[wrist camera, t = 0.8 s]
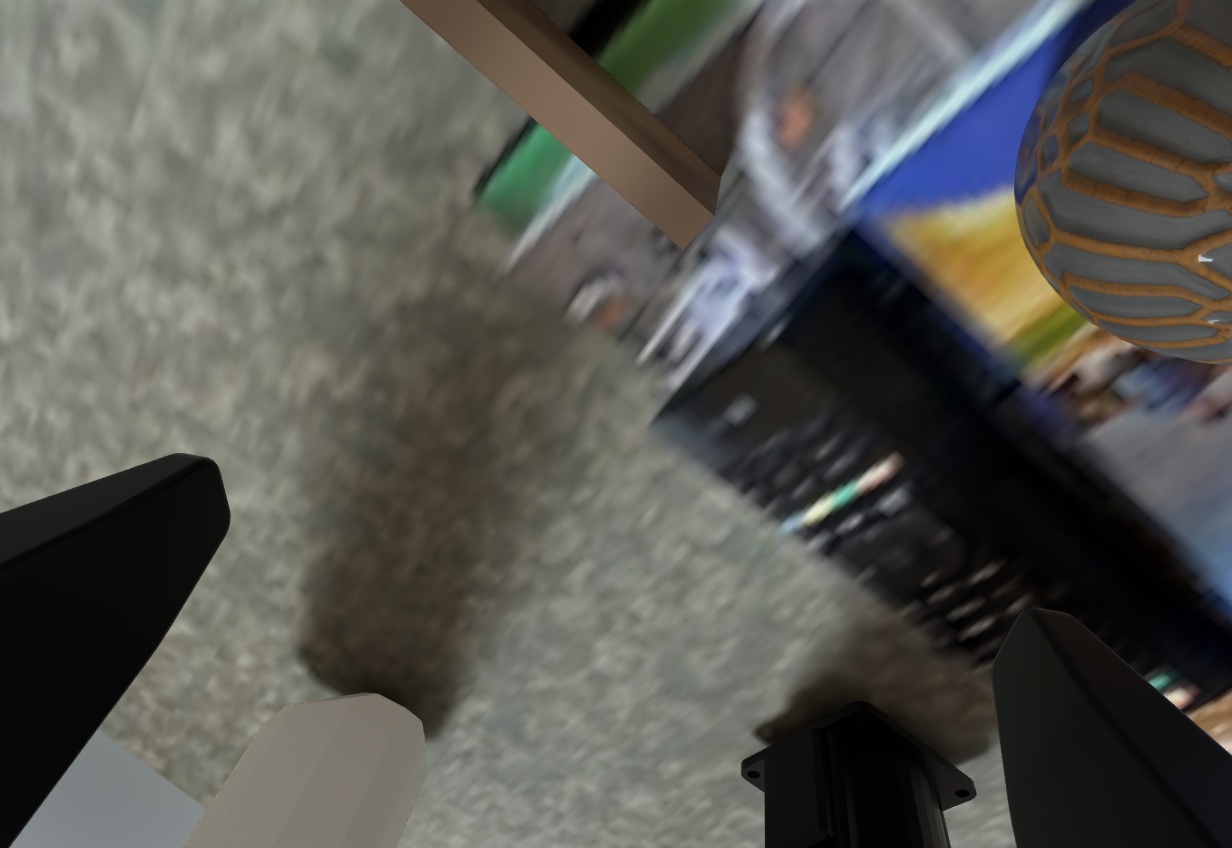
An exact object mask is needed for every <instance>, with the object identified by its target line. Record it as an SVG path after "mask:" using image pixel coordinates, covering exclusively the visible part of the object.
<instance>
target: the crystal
mask: <svg viewBox="0 0 1232 848" xmlns="http://www.w3.org/2000/svg"><path fill="white" fill-rule="evenodd" d="M424 755H425V737H424V731H423V725H422V721H421V720H420V719H419V718H417V717H416V716H415V715H414V714H412V713H411V712H410V711H409V710H408V709H406V708H405V707H403V706H401V705H399V704H397V703H395V702H393V701H391V700H389V699H387V698H385V697H383V696H381V695H379V694H375V693H358V694H351V695H345V696H339V697H332V698H326V699H319V700H313V701H307V702H300V703H294V704H288V705H287V706H286V707H284V708H283V709H282V710H280V711H279V712H278V713H277V714H275V715H274V716H273V717H272V718H270V719H269V720H268V721H267V722H265V723H264V724H263V725H262V727H261V728H260V730H259V731H258V733H257V735H256V736H255V738H254V739H253V741H252V742H251V744H250V745H249V747H248V748H247V750H246V751H245V753H244V754H243V756H242V757H241V759H240V760H239V762H238V763H237V765H236V766H235V768H234V769H233V771H232V772H231V774H230V775H229V777H228V778H227V780H226V781H225V783H224V784H223V786H222V787H221V789H220V790H219V792H218V794H217V795H216V797H215V798H214V800H213V801H212V803H211V804H210V806H209V807H208V809H207V810H206V812H205V814H204V815H203V816H202V818H201V819H200V821H199V822H198V824H197V825H196V827H195V828H194V830H193V831H192V833H191V834H190V836H189V837H188V839H187V840H186V842H185V843H184V845H183V846H182V848H396V847H397V844H398V842H399V839H400V837H401V835H402V832H403V830H404V827H405V825H406V822H407V820H408V818H409V815H410V813H411V810H412V808H413V806H414V803H415V801H416V798H417V796H418V793H419V791H420V789H421V786H422V784H423V781H424Z"/></svg>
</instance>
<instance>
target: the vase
mask: <svg viewBox="0 0 1232 848" xmlns="http://www.w3.org/2000/svg"><path fill="white" fill-rule="evenodd" d="M1014 195H1015V206H1016V213H1017V218H1018V223H1019V227H1020V231H1021V235H1022V238H1023V240H1024V243H1025V246H1026V248H1027V250H1028V252H1029V254H1030V256H1031V257H1032V259H1033V261H1034V262H1035V264H1036V266H1037V267H1038V269H1039V271H1040V272H1041V274H1042V275H1043V276H1044V278H1045V279H1046V280H1047V282H1048V283H1049V284H1050V285H1051V287H1052V288H1053V289H1054V290H1055V291H1056V293H1057V294H1058V295H1059V296H1060V297H1061V298H1062V299H1063V300H1064V301H1065V302H1066V303H1067V304H1069V305H1070V306H1071V307H1072V308H1073V309H1074V310H1075V311H1077V312H1078V313H1079V314H1080V315H1081V316H1082V317H1084V318H1085V319H1087V320H1088V321H1089V322H1091V323H1092V324H1094V325H1096V326H1098V327H1099V328H1101V329H1103V330H1105V331H1106V332H1108V333H1110V334H1112V335H1113V336H1116V337H1118V338H1120V339H1122V340H1124V341H1127V342H1129V343H1132V344H1134V345H1137V346H1139V347H1142V348H1145V349H1148V350H1151V351H1154V352H1158V353H1161V354H1165V355H1168V356H1172V357H1176V358H1181V359H1186V360H1191V361H1196V362H1202V363H1210V364H1220V365H1232V0H1137V1H1135V2H1134V3H1132V4H1130V5H1129V6H1128V7H1126V8H1125V9H1123V10H1122V11H1121V12H1119V13H1118V14H1116V15H1115V16H1114V17H1113V18H1111V19H1110V20H1109V21H1108V22H1106V23H1105V24H1104V25H1103V26H1101V27H1100V28H1099V29H1098V30H1096V31H1095V32H1094V33H1093V34H1092V35H1091V36H1090V37H1089V38H1088V39H1086V40H1085V41H1084V42H1083V43H1082V44H1081V45H1080V46H1079V47H1078V48H1077V49H1076V50H1075V51H1074V52H1073V54H1072V55H1071V56H1070V57H1069V58H1068V59H1067V60H1066V62H1065V63H1064V64H1063V65H1062V66H1061V68H1060V69H1059V70H1058V72H1057V73H1056V74H1055V75H1054V77H1053V78H1052V80H1051V81H1050V83H1049V84H1048V86H1047V87H1046V88H1045V90H1044V92H1043V94H1042V95H1041V97H1040V99H1039V100H1038V102H1037V104H1036V106H1035V108H1034V110H1033V112H1032V114H1031V116H1030V119H1029V121H1028V123H1027V126H1026V129H1025V131H1024V134H1023V137H1022V141H1021V144H1020V148H1019V153H1018V158H1017V164H1016V171H1015V184H1014Z"/></svg>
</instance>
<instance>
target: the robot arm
mask: <svg viewBox="0 0 1232 848" xmlns="http://www.w3.org/2000/svg"><path fill="white" fill-rule="evenodd" d="M230 517H231V514H230V509H229V505H228V501H227V497H226V493H225V489H224V485H223V481H222V477H221V473H220V470H219V467H218V465H217V464H216V463H215V462H214V460H212V459H210V458H207V457H202V456H196V455H191V454H185V453H175V454H171V455H168V456H165V457H162V458H159V459H156V460H153V461H151V462H148V463H145V464H142V465H139V466H136V467H133V468H130V469H127V470H124V471H122V472H119V473H116V474H113V475H110V476H107V477H104V478H101V479H98V480H95V481H92V482H90V483H87V484H84V485H81V486H78V487H75V488H72V489H69V490H66V491H63V492H61V493H58V494H55V495H52V496H49V497H46V498H43V499H40V500H37V501H34V502H32V503H29V504H26V505H23V506H20V507H17V508H14V509H11V510H8V511H5V512H3V513H0V848H9V847H10V846H11V845H12V844H13V842H14V841H15V839H16V838H17V837H18V835H19V834H20V833H21V831H22V830H23V829H24V827H25V826H26V825H27V823H28V822H29V821H30V819H31V818H32V817H33V815H34V814H35V813H36V811H37V810H38V808H39V807H40V806H41V804H42V803H43V802H44V800H45V799H46V798H47V796H48V795H49V794H50V792H51V791H52V790H53V788H54V787H55V786H56V784H57V783H58V781H59V780H60V779H61V778H62V776H63V775H64V774H65V772H66V771H67V770H68V768H69V767H70V766H71V764H72V763H73V762H74V760H75V759H76V757H77V756H78V755H79V753H80V752H81V750H82V749H83V748H84V747H85V745H86V744H87V743H88V741H89V740H90V739H91V737H92V736H93V735H94V733H95V732H96V730H97V729H98V728H99V727H100V725H101V724H102V722H103V721H104V720H105V718H106V717H107V716H108V714H109V713H110V712H111V710H112V709H113V708H114V706H115V705H116V704H117V702H118V701H119V700H120V698H121V697H122V696H123V694H124V693H125V692H126V690H127V689H128V688H129V686H130V685H131V683H132V682H133V681H134V679H135V678H136V677H137V675H138V674H139V673H140V671H141V670H142V669H143V667H144V666H145V665H146V663H147V662H148V660H149V659H150V658H151V656H152V655H153V653H154V652H155V650H156V649H157V648H158V646H159V645H160V643H161V641H162V640H163V638H164V637H165V635H166V634H167V632H168V631H169V629H170V627H171V626H172V624H173V623H174V621H175V619H176V618H177V616H178V614H179V613H180V611H181V609H182V608H183V606H184V604H185V603H186V601H187V599H188V598H189V596H190V594H191V593H192V591H193V589H194V588H195V586H196V584H197V583H198V581H199V579H200V578H201V576H202V574H203V573H204V571H205V569H206V568H207V566H208V564H209V563H210V561H211V559H212V558H213V556H214V554H215V553H216V551H217V549H218V548H219V546H220V544H221V543H222V541H223V539H224V538H225V536H226V534H227V531H228V529H229V525H230ZM992 686H993V693H994V701H995V708H996V716H997V723H998V730H999V738H1000V745H1001V753H1002V760H1003V768H1004V775H1005V783H1006V790H1007V798H1008V804H1009V810H1010V816H1011V823H1012V827H1013V832H1014V836H1015V841H1016V845H1017V848H1232V755H1231V754H1230V753H1229V752H1228V751H1226V750H1225V749H1224V748H1223V747H1222V746H1221V745H1220V744H1218V743H1217V742H1216V741H1215V740H1214V739H1213V738H1212V737H1210V736H1209V735H1208V734H1207V733H1206V732H1205V731H1204V730H1202V729H1201V728H1200V727H1199V726H1198V725H1197V724H1196V723H1194V722H1193V721H1192V720H1191V719H1190V718H1189V717H1188V716H1186V715H1185V714H1184V713H1183V712H1182V711H1181V710H1180V709H1178V708H1177V707H1176V706H1175V705H1174V704H1173V703H1172V702H1171V701H1169V700H1168V699H1167V698H1166V697H1165V696H1164V695H1163V694H1161V693H1160V692H1159V691H1158V690H1157V689H1156V688H1155V687H1153V686H1152V685H1151V684H1150V683H1149V682H1148V681H1147V680H1145V679H1144V678H1143V677H1142V676H1141V675H1140V674H1139V673H1137V672H1136V671H1135V670H1134V669H1133V668H1132V667H1131V666H1129V665H1128V664H1127V663H1126V662H1125V661H1124V660H1123V659H1121V658H1120V657H1119V656H1118V655H1117V654H1116V653H1115V652H1114V651H1112V650H1111V649H1110V648H1109V647H1108V646H1107V645H1106V644H1104V643H1103V642H1102V641H1101V640H1100V639H1099V638H1098V637H1096V636H1095V635H1094V634H1093V633H1092V632H1091V631H1090V630H1088V629H1087V628H1086V627H1085V626H1084V625H1083V624H1082V623H1080V622H1079V621H1078V620H1077V619H1076V618H1074V617H1073V616H1071V615H1070V614H1067V613H1064V612H1059V611H1054V610H1048V609H1043V608H1037V607H1029V608H1026V609H1024V610H1023V611H1022V612H1021V613H1020V614H1019V615H1018V617H1017V619H1016V620H1015V622H1014V624H1013V626H1012V628H1011V629H1010V631H1009V633H1008V635H1007V637H1006V639H1005V640H1004V642H1003V644H1002V646H1001V648H1000V649H999V651H998V653H997V655H996V657H995V659H994V663H993V667H992ZM741 775H742V777H743V778H744V779H745V780H747V781H748V782H750V783H751V784H753V785H754V786H756V787H757V788H759V789H760V790H762V791H763V792H765V848H951V845H950V840H949V836H948V831H947V827H946V822H945V818H944V813H943V811H944V810H947V809H949V808H952V807H954V806H957V805H959V804H962V803H964V802H967V801H970V800H972V799H973V798H975V796H976V795H977V794H976V789H975V785H974V782H973V781H972V779H971V778H969V777H968V776H967V775H965V774H964V773H963V772H961V771H960V770H959V769H957V768H956V767H955V766H953V765H952V764H951V763H949V762H948V761H947V760H945V759H944V758H943V757H941V756H940V755H939V754H937V753H936V752H935V751H933V750H932V749H931V748H929V747H928V746H927V745H925V744H924V743H923V742H921V741H920V740H919V739H917V738H916V737H915V736H913V735H912V734H911V733H909V732H908V731H907V730H905V729H904V728H903V727H901V726H900V725H899V724H897V723H896V722H895V721H893V720H892V719H891V718H889V717H888V716H887V715H885V714H884V713H883V712H881V711H880V710H879V709H877V708H876V707H875V706H873V705H872V704H870V703H868V702H864V701H857V702H854V703H851V704H849V705H847V706H845V707H843V708H841V709H839V710H838V711H836V712H834V713H832V714H830V715H828V716H826V717H824V718H822V719H820V720H819V721H817V722H815V723H813V724H811V725H809V726H807V727H805V728H803V729H801V730H800V731H798V732H796V733H794V734H792V735H790V736H788V737H786V738H784V739H782V740H780V741H779V742H777V743H775V744H773V745H771V746H769V747H767V748H765V749H763V750H761V751H760V752H758V753H756V754H754V755H752V756H750V757H748V758H746V759H744V760H743V761H742V763H741Z"/></svg>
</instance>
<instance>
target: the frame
mask: <svg viewBox="0 0 1232 848" xmlns="http://www.w3.org/2000/svg"><path fill="white" fill-rule="evenodd" d="M400 1H401V2H402V3H403V4H404V5H405V6H406V7H408V8H409V9H410V10H411V11H412V12H413V13H414V14H416V15H417V16H418V17H419V18H420V19H421V20H422V21H423V22H425V23H426V24H427V25H428V26H429V27H430V28H431V29H433V30H434V31H435V32H436V33H437V34H438V35H439V36H441V37H442V38H443V39H444V40H445V41H446V42H447V43H448V44H450V45H451V46H452V47H453V48H454V49H455V50H456V51H458V52H459V53H460V54H461V55H462V56H463V57H464V58H465V59H467V60H468V61H469V62H470V63H471V64H472V65H473V66H475V67H476V68H477V69H478V70H479V71H480V72H481V73H483V74H484V75H485V76H486V77H487V78H488V79H489V80H490V81H492V82H493V83H494V84H495V85H496V86H497V87H498V88H500V89H501V90H502V91H503V92H504V93H505V94H506V95H508V96H509V97H510V98H511V99H512V100H513V101H514V102H515V103H517V104H518V105H519V106H520V107H521V108H522V109H523V110H525V111H526V112H527V113H528V114H529V115H530V116H531V117H532V118H534V119H535V120H536V121H537V122H538V123H539V124H540V125H542V126H543V127H544V128H545V129H546V130H547V131H548V132H550V133H551V134H552V135H553V136H554V137H555V138H556V139H557V140H559V141H560V142H561V143H562V144H563V145H564V146H565V147H567V148H568V149H569V150H570V151H571V152H572V153H573V154H575V155H576V156H577V157H578V158H579V159H580V160H581V161H582V162H584V163H585V164H586V165H587V166H588V167H589V168H590V169H592V170H593V171H594V172H595V173H596V174H597V175H598V176H599V177H601V178H602V179H603V180H604V181H605V182H606V183H607V184H609V185H610V186H611V187H612V188H613V189H614V190H615V191H617V192H618V193H619V194H620V195H621V196H622V197H623V198H624V199H626V200H627V201H628V202H629V203H630V204H631V205H632V206H634V207H635V208H636V209H637V210H638V211H639V212H640V213H641V214H643V215H644V216H645V217H646V218H647V219H648V220H649V221H651V222H652V223H653V224H654V225H655V226H656V227H657V228H659V229H660V230H661V231H662V232H663V233H664V234H665V235H666V236H668V237H669V238H670V239H671V240H672V241H673V242H674V243H676V244H677V245H678V246H679V247H680V248H681V249H682V250H684V248H685V247H686V246H687V245H688V244H689V243H690V242H691V241H692V240H693V239H694V238H695V236H696V235H697V234H698V233H699V232H700V231H701V230H702V229H703V228H704V227H705V226H706V225H707V223H708V222H709V221H710V220H711V219H712V218H713V217H714V215H715V209H716V204H717V198H718V192H719V187H720V181H721V177H720V176H719V175H718V174H716V173H715V172H714V171H713V170H712V169H711V168H710V167H709V166H708V165H707V164H706V163H705V162H703V161H702V160H701V159H700V158H699V157H698V156H697V155H696V154H695V153H694V152H693V151H692V150H691V149H689V148H688V147H687V146H686V145H685V144H684V143H683V142H682V141H681V140H680V139H679V138H678V137H676V136H675V135H674V134H673V133H672V132H671V131H670V130H669V129H668V128H667V127H666V126H665V125H664V124H662V123H661V122H660V121H659V120H658V119H657V118H656V117H655V116H654V115H653V114H652V113H651V112H649V111H648V110H647V109H646V108H645V107H644V106H643V105H642V104H641V103H640V102H639V101H638V100H637V99H635V98H634V97H633V96H632V95H631V94H630V93H629V92H628V91H627V90H626V89H625V88H624V87H622V86H621V85H620V84H619V83H618V82H617V81H616V80H615V79H614V78H613V77H612V76H611V75H609V74H608V73H607V72H606V71H605V70H604V69H603V68H602V67H601V66H600V65H599V64H598V63H597V62H595V61H594V60H593V59H592V58H591V57H590V56H589V55H588V54H587V53H586V52H585V51H584V50H582V49H581V48H580V47H579V46H578V45H577V44H576V43H575V42H574V41H573V40H572V39H571V38H570V37H568V36H567V35H566V34H565V33H564V32H563V31H562V30H561V29H560V28H559V27H558V26H557V25H555V24H554V23H553V22H552V21H551V20H550V19H549V18H548V17H547V16H546V15H545V14H544V13H543V12H541V11H540V10H539V9H538V8H537V7H536V6H535V5H534V4H533V3H532V2H531V1H530V0H400Z"/></svg>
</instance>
